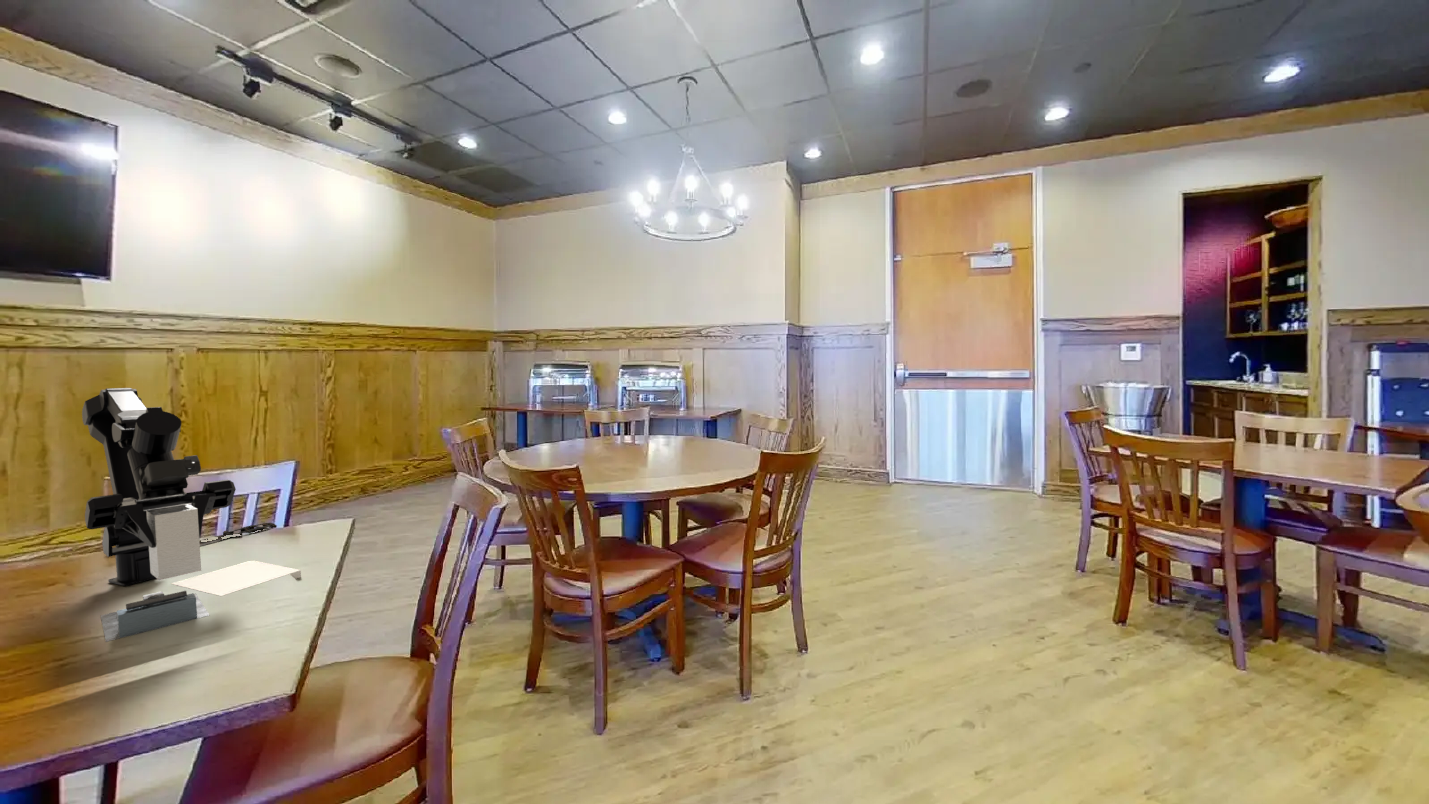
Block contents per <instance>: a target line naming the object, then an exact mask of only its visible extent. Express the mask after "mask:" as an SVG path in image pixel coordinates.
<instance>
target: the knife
mask: <svg viewBox="0 0 1429 804" xmlns="http://www.w3.org/2000/svg"><path fill="white" fill-rule="evenodd" d="M277 526H278V525H277V524H276V523H273V522H262V523H259V524H252V525H248V526H247V525H246V526H243V527H241V528H237V529H233V530H231V531H228V530H223V532H222V534H221V535H216V536H215V537H218V539H216V540H212V541H207V542H201V540H202V539H199V542H200V547H201V546H206V545H210V544H213V543H214V544H215V543H218V542H221V541H220V540H222V538H221V537H224V536H226V535H233V534H240V535H242V536H243V533H249V534H250V533H251V532H255V531H257V530H263V529H265V530H266V528H267V529H268V528H272V527H275V528H277ZM272 529H273V528H272ZM238 531H240V532H238ZM251 534H252V533H251ZM206 539H207V540H208V538H205V539H203V540H206ZM222 541H223V540H222Z"/></svg>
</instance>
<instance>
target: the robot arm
mask: <svg viewBox="0 0 1429 804" xmlns="http://www.w3.org/2000/svg"><path fill="white" fill-rule="evenodd" d="M137 390H138V389H137V388H132V387H116V388H115V387H113V388H112V387H111V388H110V387H109V388H105V389H100V392H99V394H97V395H96V396H93V397H92V398H91V397H90V398H89V399H87V400H85V401H84V403H83V406H82V411H81V415H82V416H81V417H82V423H83V425H84V426H87V427H88V432H89V435H90V437H92V438H94V439H95V440H96V441H98V442H99V443H101V444H102V445H103V449H104V453H105V454H104V455H105V459H106V463H107V470H108V474H109V479H110V485H111V491H112V494H108V495H100V496H99V495H98V496H94V497H93V496H92V497H90V498H89V499H88V500H87V501H86V505H85V512H84V522H85V525H86V529H88V530H97V529H103V528H104V531H103V535H102V551H103V554H104V555H105V556H106V557H108V558H111V557H113V556H115V567H116V568H115V569H116V570H115V571H116V577H112V578H109V579H108V583H110V584H115V585H119V586H122V587H127V586H130V585H131V586H132V585H135V584H139V583H143V582H146V581H150V580H153V579H157V578H156V577H155V576H153V575H152V574H151V571H150V556H149V546H150V547H151V548H154V547H155V541H154V537H153V534H152V531H151V529H150V527H149V525H148V522H147V513H146V511H147V510H153V509H160V508H166V507H173V506H179V505H186V504H189V505H191V506H193V507H195V508H197V510H198V526H199V539H200V538H201V533H202V529H203V528H202V527H203V522H204V517H205V515H208V514H209V515H210V514H211V513H212V511H213V510H218V509H225V508H227V507H229V506H231V505H232V501H233V498H234V495H235V492H236V486H235V483H234V482H233V481H231V480H230V479H228V478H227V479H222V480H221V479H220V480H212V481H205V482H204V484H203V487H202V490H198V491H190V492H186V491H185V489H187V488H188V485H189V483H188V480H187V478H189V476H196V475H199V474H200V472H201V470H202V469H201V468H202V467H201V462H200V459H199V456H198V455H187V456H183V458H182V459H181V458H178V459H175V458H174V455H173V452H172V451H174V450H175V449H176V447H177V444H178V440H179V436H180V433H181V431H182V430H181V427H182V420H181V418H179V416H177V415H175V414H174V413H171V412H168V411H164V410H163V408H162V406H154V407H146V406H145V404H144V403H143V401H142V398H141V397H140V396H139V394H138V391H137Z"/></svg>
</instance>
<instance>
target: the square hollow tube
mask: <svg viewBox="0 0 1429 804" xmlns="http://www.w3.org/2000/svg"><path fill="white" fill-rule="evenodd" d="M146 513H147V522H148V525H149V527H150V529H151V531H152V534H153V537H154V541H155V547H154V548H151V547H150V546H149V556H150V571H151V574H152V575H153V576H155V577H156V578H155V579H157V580H158V581H162V580H167V579H170V578H171V579H172V578H175V577H179V576H183V575H188V574H193V573H196V572H200V571H202V559H201V546H200V542H199V541H200V538H199V526H198V510H197V508H195V507H193V506H191V504H186V505H179V506H173V507H166V508H160V509H153V510H147V511H146Z"/></svg>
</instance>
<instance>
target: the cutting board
mask: <svg viewBox="0 0 1429 804" xmlns="http://www.w3.org/2000/svg"><path fill="white" fill-rule="evenodd" d="M287 575H290V576H291V577H292V578H293V579H295V580H297V579H300V578H302V570H301V569H297V568H294V567H293V568H291V567H288V566H287V567H286V566H283V565H278V564H272V563H268V562H263V561H257V560H254V559H253V560H248V561H244V562H241V563H238V564H234V565H230V566H227V567H223V568H220V569H216V570H213V571H209V572H205V573H203V574H199V575H195V576H191V577H189V578H186V579H181V580H179V581H178V580H177V581H174V582H171V583H170V585H173V586H174V585H175V586H177V587H178V586H179V587H181V588H182V587H183V588H186V589H191V590H194V591H199V592H203V593H207V594H210V595H214V596H219V597H223V596H226V595H229V594H232V593H235V592H238V591H241V590H245V589H247V588H251V587H254V586H256V585H259V584H263V583H266V582H269V581H272V580H275V579H276V580H277V579H278V578H281V577H284V576H287Z"/></svg>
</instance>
